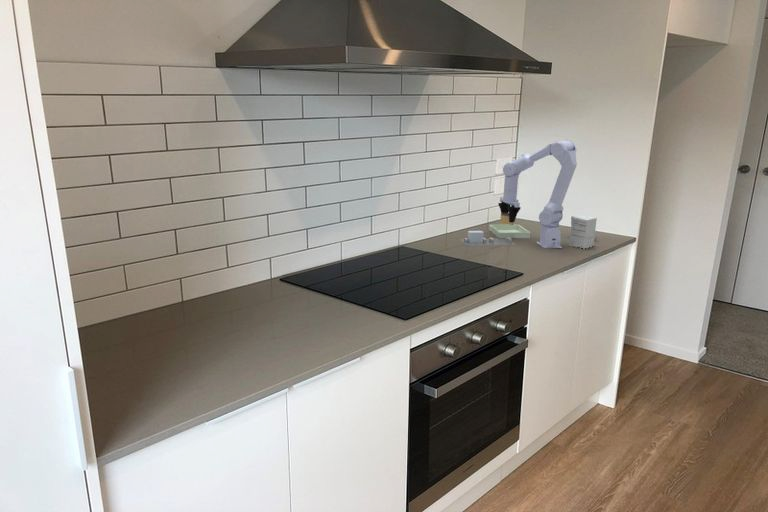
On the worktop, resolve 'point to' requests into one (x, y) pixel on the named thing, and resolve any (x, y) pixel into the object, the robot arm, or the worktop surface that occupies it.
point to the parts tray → (509, 231)
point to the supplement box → (583, 231)
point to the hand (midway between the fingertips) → (508, 220)
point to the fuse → (475, 236)
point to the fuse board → (490, 241)
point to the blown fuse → (506, 219)
